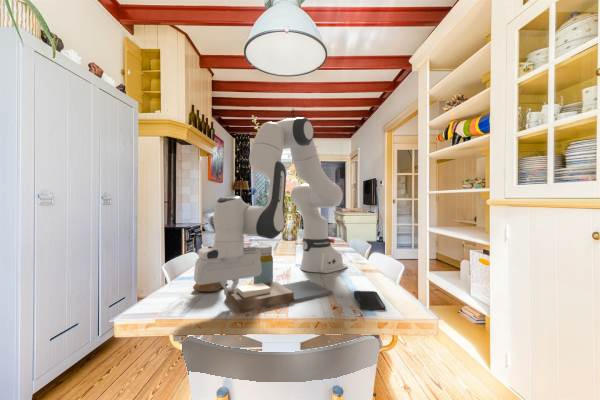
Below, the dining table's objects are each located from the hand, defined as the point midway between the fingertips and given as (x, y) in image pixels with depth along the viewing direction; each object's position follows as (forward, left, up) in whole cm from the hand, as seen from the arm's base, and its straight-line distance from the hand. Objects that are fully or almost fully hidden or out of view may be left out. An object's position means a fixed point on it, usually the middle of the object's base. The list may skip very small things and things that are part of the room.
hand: (229, 294), depth 90 cm
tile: (-8, 0, -1) cm, 8 cm away
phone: (-40, +19, -4) cm, 44 cm away
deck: (-10, 0, -4) cm, 11 cm away
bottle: (-17, -12, -4) cm, 21 cm away
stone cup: (-1, -20, -4) cm, 21 cm away
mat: (-26, 0, -4) cm, 27 cm away
